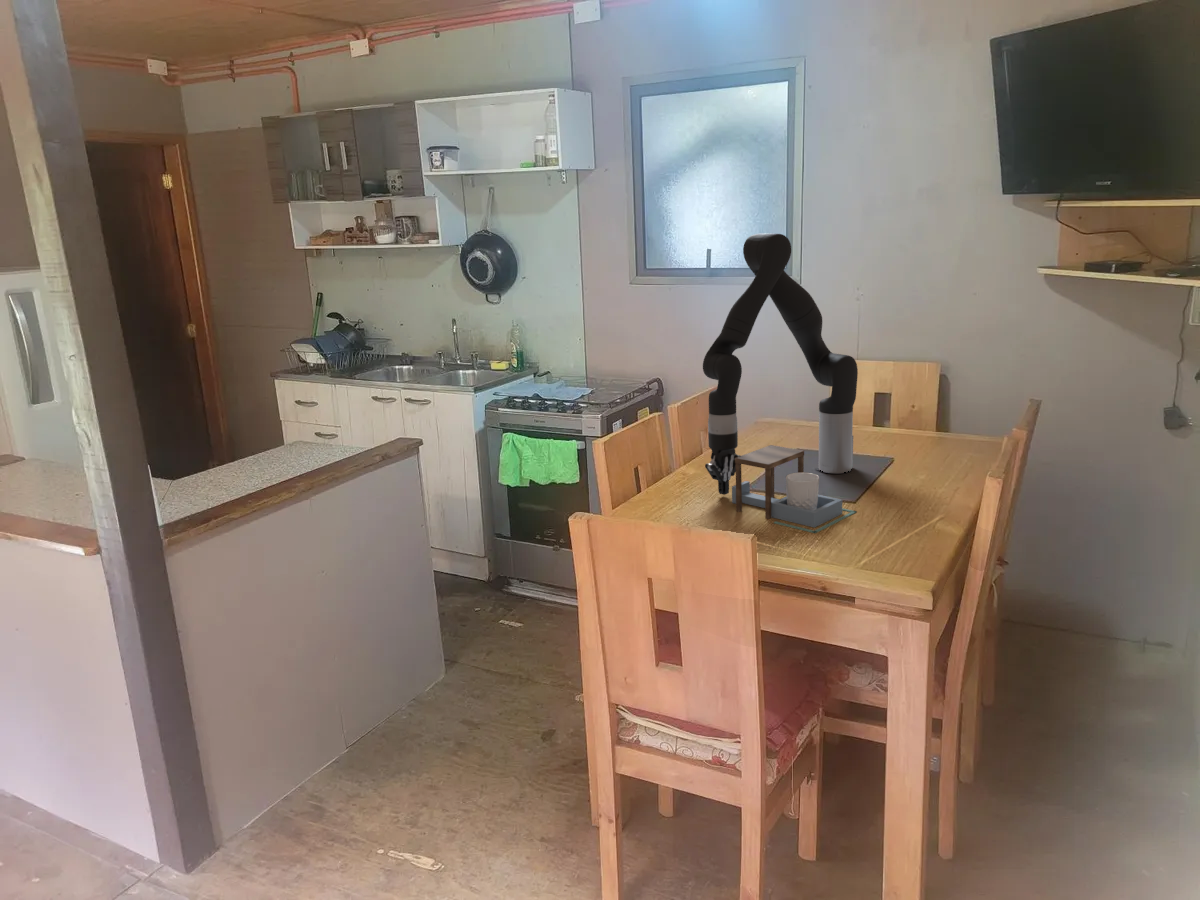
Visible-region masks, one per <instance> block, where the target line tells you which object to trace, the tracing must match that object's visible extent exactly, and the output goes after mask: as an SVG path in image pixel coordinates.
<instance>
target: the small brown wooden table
mask: <svg viewBox="0 0 1200 900" xmlns="http://www.w3.org/2000/svg"><path fill="white" fill-rule="evenodd" d="M804 456H805V450H802V449H796V448H792V447H785V446H778V445H774V444H770V445H767V446H764V447H762V448H758V449H756V450H753V451H751V452H747V453H745V454H742V455H740V456H739V457H736V458H735V463H736V472H735V485H736V504H735V510H736V512H737V513H741V512H743V503H742V482H743V481H742V465H745V466H751V467H755V468H760V469H764V470H765V471H764V475H765V476H764V496H765V508H764V509H765V511H764V513H765V515H764V516H765V517H764V518H765V519H768V520H770V519H772V517H771V498H775V468H776V467H778V466H781V465H784V464H786V463H788V462H790V461H794V460H796V459H797V473H799V472H805V471H804V470H805V469H804V461H805V460H804V459H805V458H804Z"/></svg>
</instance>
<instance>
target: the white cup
mask: <svg viewBox="0 0 1200 900" xmlns="http://www.w3.org/2000/svg"><path fill="white" fill-rule="evenodd" d="M819 484H820V475H818V474H816V473H811V472H805V471H804V472H799V473H798V472H792V473H789V474H786V476H785V487H786V488H785V490H786V492H785V493H786V496H787V505H790V506H795V507H799V508H803V509H808V510H812V511H814V510H816V509H817V503H818V495H819Z"/></svg>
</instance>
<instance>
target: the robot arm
mask: <svg viewBox="0 0 1200 900" xmlns="http://www.w3.org/2000/svg"><path fill="white" fill-rule="evenodd" d="M742 250H743V251H742V252H743V258H744V260H745V264H746V265H747V267H748V268H749V269H750V270H751V272H752V273H753V275H754V276H755V277H754V278H753V279H752V282H751V283H750V284H749V285H748V287H747V288H746V290H745V291H744V292H743V293H742V294H741V296H739V298H738V299H737V300H735V303H734V304H733V305H732V307H731V308H730V310H729V311H728V314H727V317H726V319H725V321H724V324H723V326H722V329H721V332H720V333H719V335H718V336H717V337H716V339H714V342H713V343H712V345H711V346H710V348H709V349H708V350H707V352H706V354H705V355H704V359H703V362H702V371H703V373H704V375H705V376H706V377H707V378H708V379H711V380H715V381H717V387H716V389H713V390H711V391H710V392H709V393H708V418H707V420H708V421H707V426H708V427H707V431H708V432H707V434H708V440H707V441H708V447H709V449H710V450H711V454H710V461H709V463H705V465H704V466H705V467H704V468H705V470H706V471H707V472H708V474H709V475H710V477H711V479H712V480H714V481H715V480H716V481H717V483H718V484H717V486H718V487H717V488H718V490H717V492H718V493H719V495H723V496H725V495H727V494H729V492H730V480H731V479H732V478H731V477H734V476H735V475H736V463H735V458H736V457H739V456H741V455H740V454H737V453H736V449H737V447H738V445H739V443H738V441H739V438H738V437H739V436H738V430H739V429H738V416H737V394H738V392H739V387H740V383H741V380H742V373H743V371H742V370H743V368H742V364H741V361H740V359H739V358H738V357H737V356H736V355H735V354H733V353H734V352H735V351H736V350H738V349H741V348H744V347H745V346H746V344H747V342H748V339H749V337H750V335H751V333H752V330H753V328H754V326H755V322H756V320H757V318H758V316H759V313H760V312H761V310H762V308H763V306H764V305H765V302H766V300H767V299H768V298H769V297H770V299H771V301H772V302H773V304H774V306H775V307H776V308H777V311H778V312H779V314H780V316H781V318H782V319H783V321H784V323H785V324H786V326H787V328H788V330H789V331H790V333H791V334H792V335H793V337H794V340H795V341H796V343H797V344H798V346H799V348H800V350H801V351H802V353H803V356H804V357H805V359H806V363H807V364H808V366H809V369H810V372H811V373H812V375H813V377H814V379H815V380H816V382H817V383H819V384H821V386H822V385H823V386H825V387H830V388H831V391H830V392H831V393H830V396H829V397H826V398H823V399H821V400H820V401H819V403H818V463H817V464H818V468H819V469H818V470H819V471H820V470H821V471H820V472H822V471H823V473H827V474H845V473H844V472H846V473H849V472H851V471H852V470H853V467H854V465H853V464H854V462H853V460H854V435H853V430H854V429H853V425H854V424H853V420H854V419H853V418H854V415H853V414H854V411H853V410H854V404H855V402H856V399H857V398H856V397H857V388H858V386H857V385H858V374H859V373H858V363H857V361H856V359H855V358H854V357H853V356H851V355H848V354H841V353H835V352H831V351H830V349H829V348H828V346H827V345H826V342H825V341H824V340H823V336H822V331H823V316H822V313H821V310H820V309H819V307H818V304H817V303H816V302H815V300H814V298H813V296H812V295H811V294H810V293H809V292H808V291H807V290H806V289H805V288H804V287H803V286H802V285H801V284H799V283H798V282H797V281H795V280H794V279H793V278H792V277H791V276H790V275H789V274H788V273H787V272H786V271H785V269H786V267H787V266H788V263H789V261H790V258H791V255H792V244H791V242H790V240H789V238H788V237H787V236H786V235H784V234H781V233H773V232H772V233H771V232H769V233H768V232H767V233H765V232H763V233H762V232H761V233H754V234H752V235H750V236H748V237H747V238H746V239H745V241H744V243H743V248H742ZM851 469H852V470H851ZM848 471H849V472H848Z"/></svg>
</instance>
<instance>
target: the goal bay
mask: <svg viewBox="0 0 1200 900" xmlns="http://www.w3.org/2000/svg"><path fill="white" fill-rule="evenodd" d="M843 511H844V512H848V513H846V514H845V515H842V516H840V517H838V518H837V519H835V520H832V521H830V522H829V523H826V524H825V525H823V526H821V527H818V528H817V529H815V530H814V529H809V528H805V527H800V526H797V525H793V524H788V523H785V522H780V521H775V520H774V521H773V524H776V525H780V526H784V527H786V528H787V527H788V528H793V529H796V530H800V531H805V532H808V533H812V534H817V533H819V532H821V531H823V530H825V529H826V528H829V527H831V526H833V525H835V524H836V523H839V522H840V521H842V520H844V519H847V518H848V517H851V516H852V515H854V514H857V512H858V511H856V510H853V509H848V508H843V507H842V512H843Z"/></svg>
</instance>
